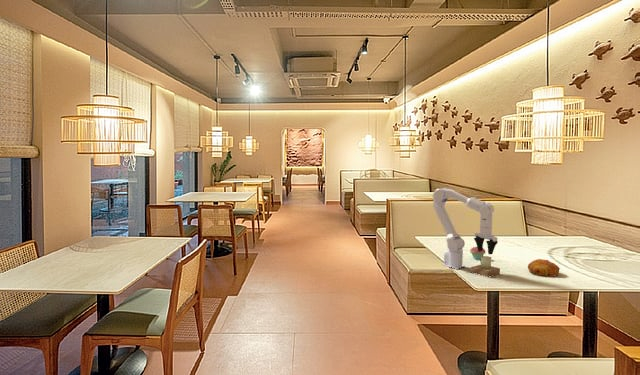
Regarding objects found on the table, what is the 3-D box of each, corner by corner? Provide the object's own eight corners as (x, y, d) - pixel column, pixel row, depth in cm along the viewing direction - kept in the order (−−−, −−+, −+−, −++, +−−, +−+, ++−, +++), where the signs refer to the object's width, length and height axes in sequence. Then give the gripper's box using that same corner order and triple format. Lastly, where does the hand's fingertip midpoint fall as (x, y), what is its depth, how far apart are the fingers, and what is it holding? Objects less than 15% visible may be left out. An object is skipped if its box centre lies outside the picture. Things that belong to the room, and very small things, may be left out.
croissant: (523, 277, 217) (523, 262, 216) (534, 267, 228) (534, 253, 227) (554, 282, 207) (553, 267, 206) (564, 272, 218) (563, 257, 216)
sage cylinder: (478, 266, 218) (478, 256, 218) (486, 266, 220) (486, 255, 219) (485, 269, 213) (485, 258, 213) (493, 268, 215) (493, 257, 215)
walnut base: (471, 272, 218) (471, 267, 218) (482, 269, 224) (482, 264, 223) (488, 277, 210) (488, 271, 210) (499, 273, 216) (500, 268, 215)
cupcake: (481, 256, 252) (482, 237, 251) (487, 260, 244) (488, 240, 243) (467, 257, 252) (468, 237, 251) (473, 260, 243) (473, 240, 242)
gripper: (470, 225, 223) (469, 250, 224) (489, 229, 209) (488, 256, 210) (481, 224, 225) (480, 249, 226) (501, 228, 212) (500, 255, 213)
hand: (485, 252), depth 219 cm, fingers open, 7 cm apart
